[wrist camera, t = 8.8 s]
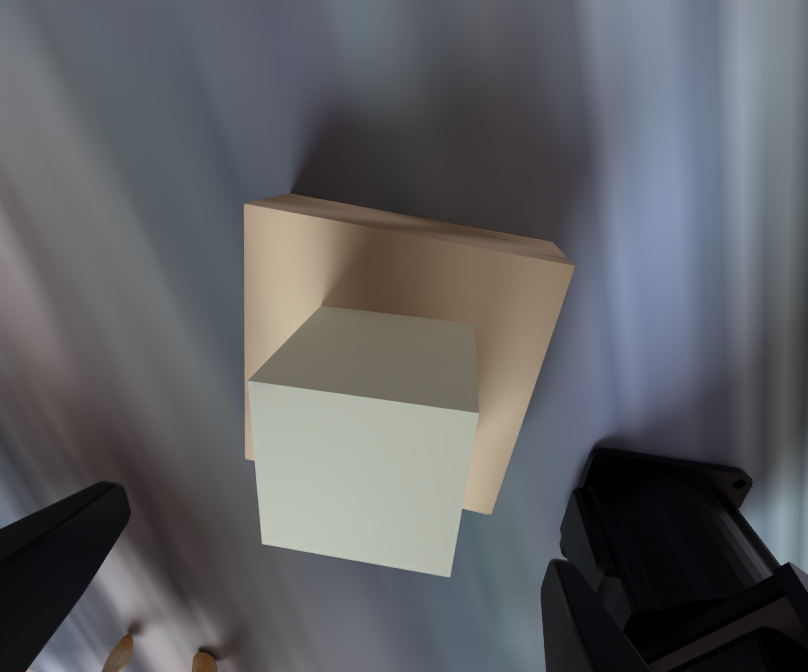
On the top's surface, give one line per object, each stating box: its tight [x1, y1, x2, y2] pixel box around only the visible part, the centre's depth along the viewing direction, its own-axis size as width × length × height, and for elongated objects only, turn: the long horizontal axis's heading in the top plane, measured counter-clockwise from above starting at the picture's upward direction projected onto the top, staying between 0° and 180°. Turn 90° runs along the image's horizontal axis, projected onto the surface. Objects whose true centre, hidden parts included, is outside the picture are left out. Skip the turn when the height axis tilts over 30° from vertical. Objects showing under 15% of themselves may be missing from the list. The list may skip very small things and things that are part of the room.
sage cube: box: [248, 305, 479, 577], centre depth 12 cm, size 5×5×5 cm
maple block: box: [244, 194, 575, 515], centre depth 16 cm, size 10×10×4 cm
